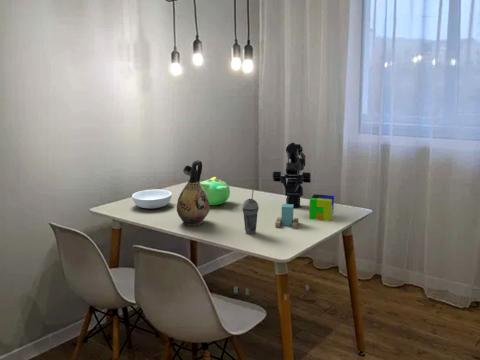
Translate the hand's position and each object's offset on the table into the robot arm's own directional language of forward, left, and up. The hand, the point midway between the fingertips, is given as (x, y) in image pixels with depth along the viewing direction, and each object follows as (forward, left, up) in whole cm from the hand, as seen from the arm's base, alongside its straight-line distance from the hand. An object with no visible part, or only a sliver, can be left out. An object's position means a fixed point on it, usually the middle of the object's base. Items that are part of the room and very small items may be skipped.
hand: (290, 191), depth 235 cm
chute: (+8, +12, -13) cm, 19 cm away
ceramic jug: (+47, -9, -13) cm, 49 cm away
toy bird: (+29, -35, -13) cm, 47 cm away
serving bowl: (+60, -45, -13) cm, 75 cm away
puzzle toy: (-13, +7, -13) cm, 20 cm away
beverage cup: (+28, +15, -13) cm, 34 cm away
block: (+7, +11, -13) cm, 18 cm away
